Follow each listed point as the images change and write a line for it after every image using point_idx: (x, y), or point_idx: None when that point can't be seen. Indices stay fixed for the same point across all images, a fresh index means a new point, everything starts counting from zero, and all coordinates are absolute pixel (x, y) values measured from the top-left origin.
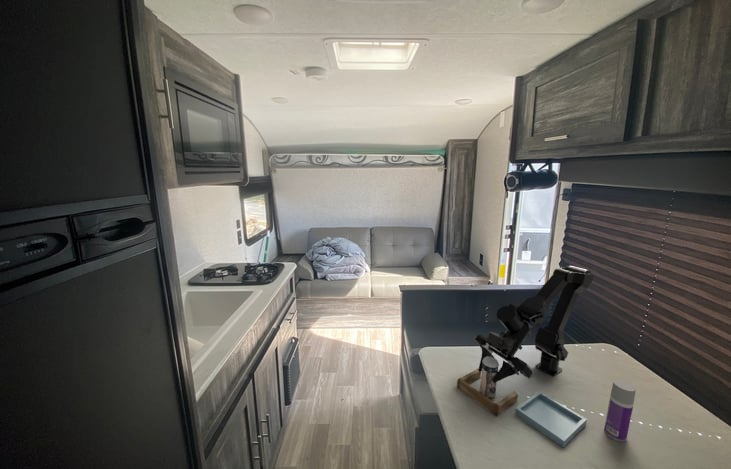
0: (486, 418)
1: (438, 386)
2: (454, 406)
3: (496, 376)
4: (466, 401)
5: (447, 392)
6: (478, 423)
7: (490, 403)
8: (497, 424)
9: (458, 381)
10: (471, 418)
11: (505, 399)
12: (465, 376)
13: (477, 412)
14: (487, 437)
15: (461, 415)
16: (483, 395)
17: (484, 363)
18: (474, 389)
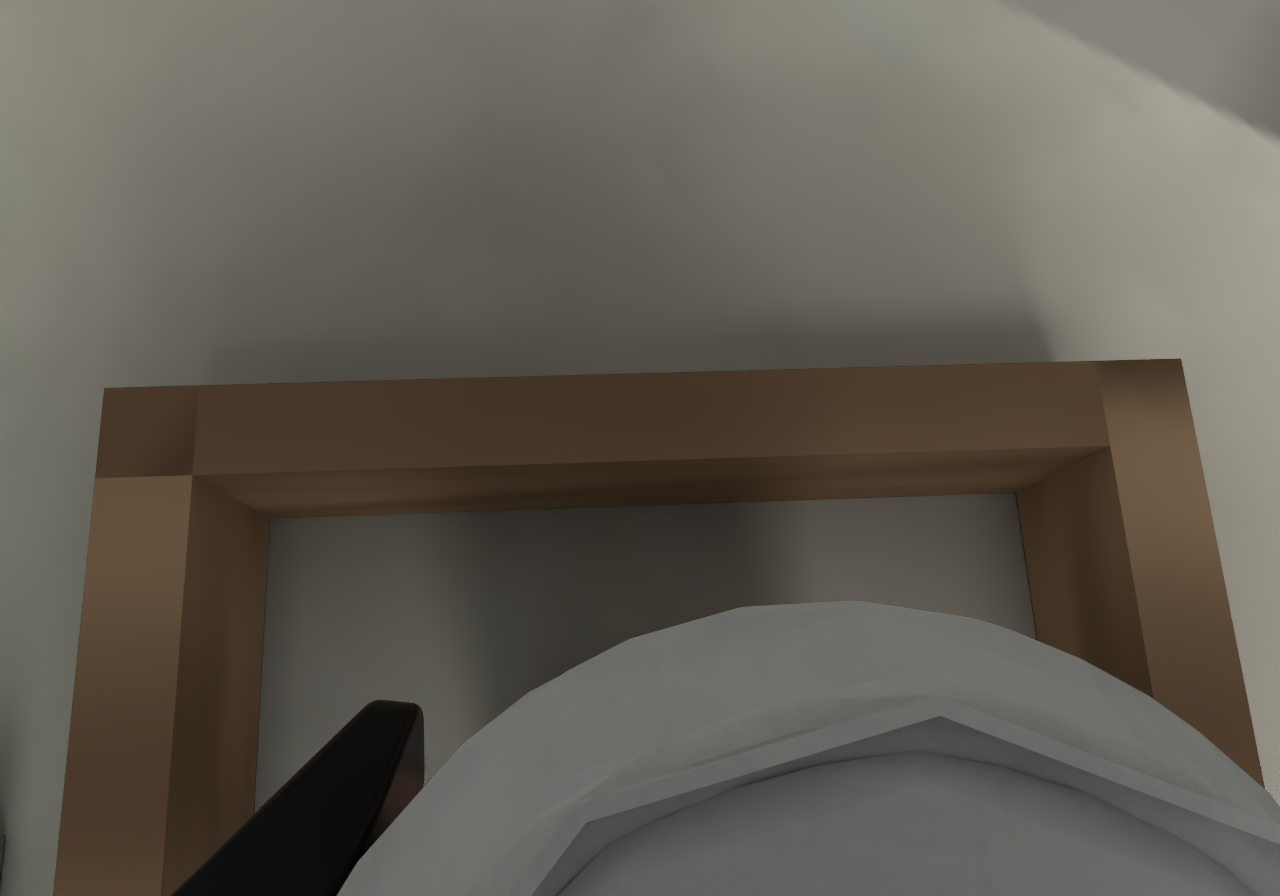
0: (279, 280)
1: (1224, 161)
2: (735, 55)
3: (264, 859)
4: (720, 297)
5: (1038, 185)
6: (295, 99)
7: (272, 384)
8: (93, 328)
9: (1128, 372)
10: (421, 87)
11: (120, 806)
12: (1194, 611)
13: (448, 259)
14: (61, 11)
15: (546, 11)
16: (505, 442)
17: (985, 655)
18: (747, 429)
